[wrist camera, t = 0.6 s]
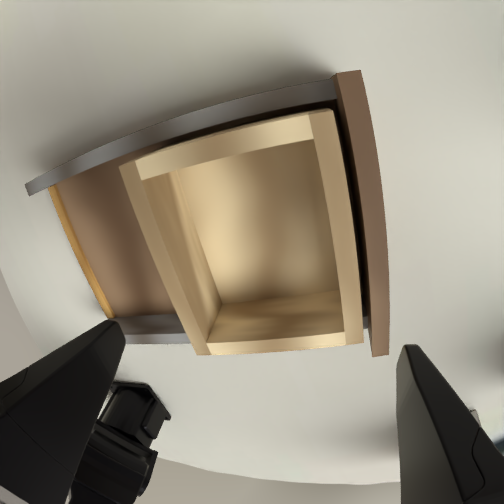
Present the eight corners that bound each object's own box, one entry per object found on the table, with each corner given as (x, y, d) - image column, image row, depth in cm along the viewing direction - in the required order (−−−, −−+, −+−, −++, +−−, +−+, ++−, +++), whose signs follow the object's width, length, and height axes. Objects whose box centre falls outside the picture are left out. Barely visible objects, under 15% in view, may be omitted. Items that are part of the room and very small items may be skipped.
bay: (119, 320, 28) (88, 363, 23) (53, 169, 22) (1, 194, 16) (375, 295, 22) (388, 354, 17) (344, 77, 16) (360, 69, 10)
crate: (217, 307, 23) (196, 355, 19) (161, 147, 18) (118, 166, 14) (356, 291, 21) (363, 342, 16) (326, 106, 16) (333, 110, 11)
